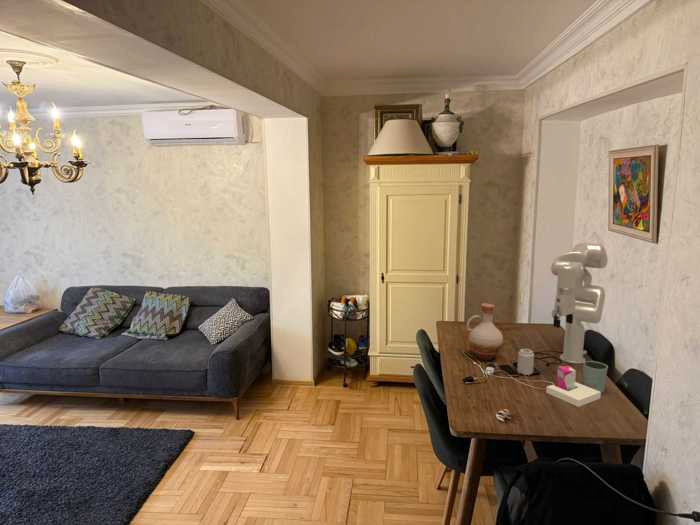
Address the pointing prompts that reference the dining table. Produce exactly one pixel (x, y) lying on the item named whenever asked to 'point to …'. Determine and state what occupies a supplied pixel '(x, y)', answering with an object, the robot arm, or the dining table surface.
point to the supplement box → (566, 378)
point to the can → (525, 361)
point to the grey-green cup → (595, 375)
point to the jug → (485, 335)
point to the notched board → (575, 394)
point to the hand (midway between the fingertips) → (562, 324)
